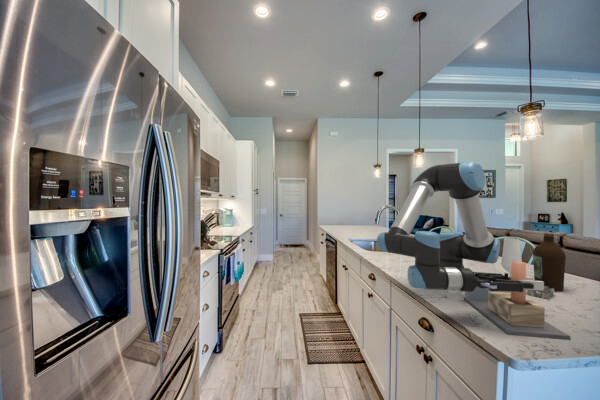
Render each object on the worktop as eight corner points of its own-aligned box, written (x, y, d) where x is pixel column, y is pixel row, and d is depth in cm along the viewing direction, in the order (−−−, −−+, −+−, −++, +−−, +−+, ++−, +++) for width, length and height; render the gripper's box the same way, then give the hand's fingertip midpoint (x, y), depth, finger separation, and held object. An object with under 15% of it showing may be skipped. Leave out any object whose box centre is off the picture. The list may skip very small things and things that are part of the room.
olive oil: (557, 285, 115) (557, 232, 115) (571, 293, 105) (571, 235, 106) (528, 282, 119) (528, 231, 120) (539, 289, 110) (539, 234, 110)
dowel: (511, 312, 79) (511, 262, 79) (510, 308, 82) (510, 260, 82) (526, 315, 77) (526, 264, 77) (525, 311, 80) (525, 262, 80)
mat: (570, 339, 70) (570, 336, 70) (507, 334, 73) (507, 330, 73) (508, 302, 96) (508, 299, 96) (463, 299, 98) (463, 297, 98)
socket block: (544, 327, 74) (544, 307, 74) (511, 324, 76) (511, 305, 76) (516, 310, 86) (516, 293, 86) (488, 308, 88) (488, 291, 88)
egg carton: (548, 301, 98) (548, 290, 98) (524, 294, 105) (524, 285, 105) (556, 295, 104) (556, 285, 104) (532, 290, 110) (532, 280, 110)
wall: (513, 302, 93) (513, 281, 93) (467, 299, 95) (467, 279, 95) (509, 300, 95) (509, 279, 95) (464, 297, 98) (464, 277, 98)
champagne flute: (497, 294, 103) (497, 238, 104) (507, 292, 106) (507, 237, 106) (516, 300, 97) (516, 240, 97) (526, 298, 100) (526, 239, 100)
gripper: (447, 282, 90) (518, 286, 87) (470, 300, 74) (560, 306, 70) (447, 262, 90) (518, 265, 87) (471, 275, 74) (560, 280, 70)
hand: (537, 283), depth 78 cm, fingers closed on dowel, 3 cm apart
